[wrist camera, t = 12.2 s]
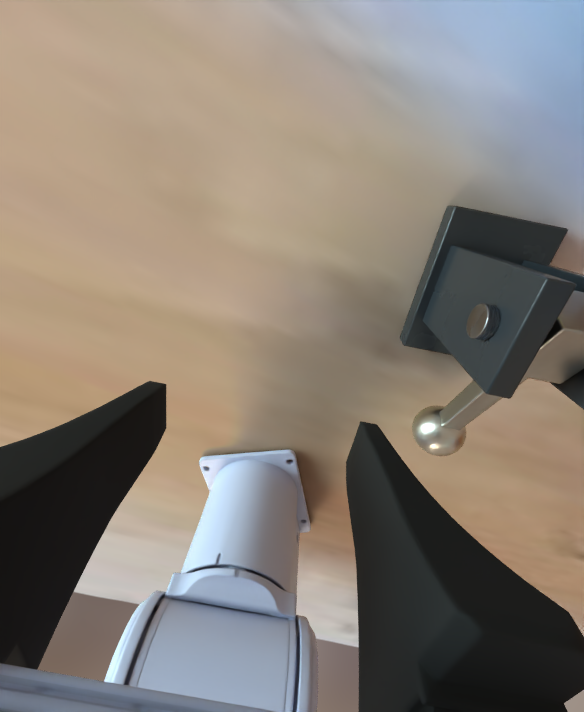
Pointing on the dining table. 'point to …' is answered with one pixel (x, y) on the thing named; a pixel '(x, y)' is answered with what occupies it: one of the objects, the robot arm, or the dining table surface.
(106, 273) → the dining table surface
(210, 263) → the dining table surface
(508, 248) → the dark grey lever bracket
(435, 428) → the tap lever
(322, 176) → the dining table surface
